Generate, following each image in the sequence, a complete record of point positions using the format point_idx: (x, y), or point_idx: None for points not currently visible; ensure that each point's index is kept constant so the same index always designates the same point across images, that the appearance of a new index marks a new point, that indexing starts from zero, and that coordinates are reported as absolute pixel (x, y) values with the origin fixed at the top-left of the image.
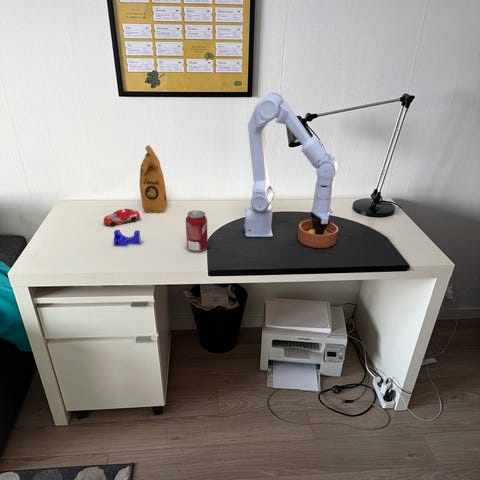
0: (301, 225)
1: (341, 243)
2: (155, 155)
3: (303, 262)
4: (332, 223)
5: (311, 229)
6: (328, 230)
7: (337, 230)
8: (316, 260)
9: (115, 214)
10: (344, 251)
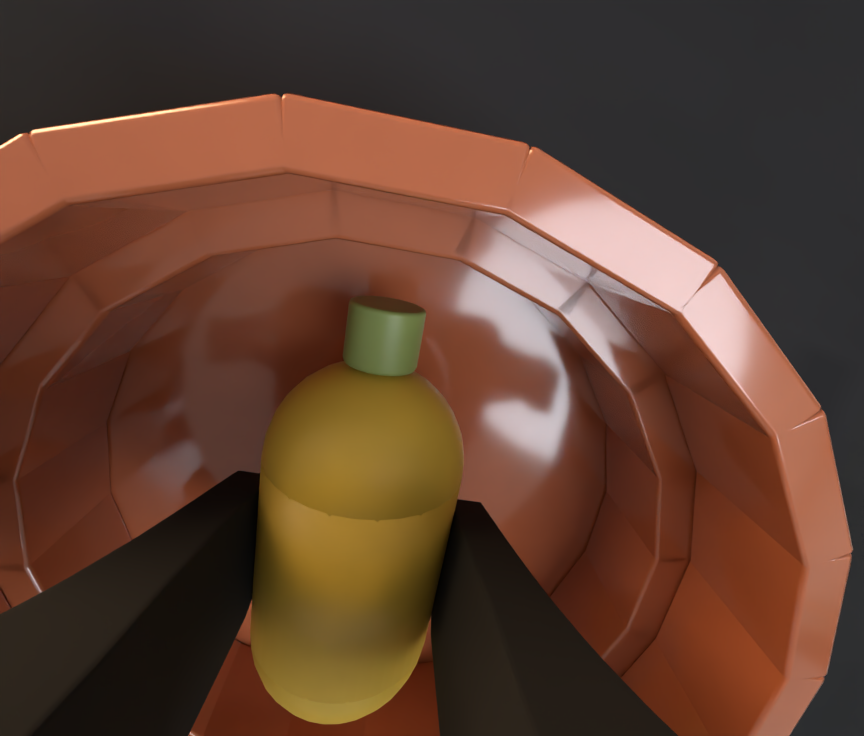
0: None
1: (536, 92)
2: None
3: (833, 731)
4: (5, 175)
5: (295, 708)
6: (183, 272)
7: (676, 244)
8: (859, 621)
9: None
10: (823, 179)
